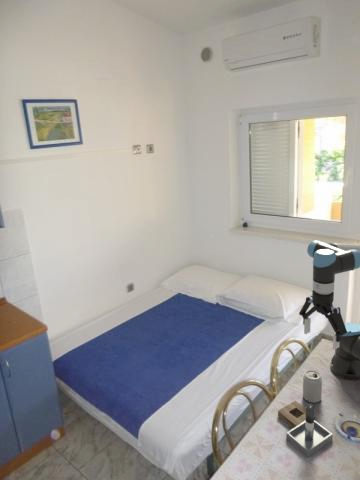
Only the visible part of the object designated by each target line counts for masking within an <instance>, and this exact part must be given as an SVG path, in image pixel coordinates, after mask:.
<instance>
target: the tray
mask: <svg viewBox="0 0 360 480" xmlns="http://www.w3.org/2000/svg"><path fill="white" fill-rule="evenodd" d="M305 421H306V420H305ZM305 421H304V422H302V423H301V424H299V425H298V426H296V427H295V428H291V429H290V430H288V431H287V432H286V436H285V437H286V439H287V440H288V442H290V443H291V444H293V446H295V447H296V448H297V449H298V450H299V451H300V452H301V453H302V454H304V455H305V456H306V457H307V458H309V457H310V456H311V455H313V454H314V453H315V452H317V451H318V450H320V449H322V447H324V446H326V445H327V444H329V443H330V442H331V441H333V436H334V435H333V433H332V432H331V431H329V430H328V429H327V428H325V427H324V426H323V425H322V424H321V423H319V422H318V421H317V420H316V419H315V420H314V435H313V440H312V441H308V440H306V439H305Z"/></svg>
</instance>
